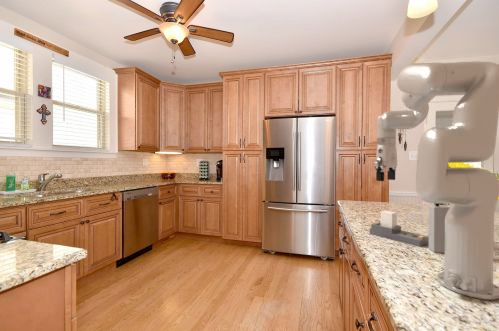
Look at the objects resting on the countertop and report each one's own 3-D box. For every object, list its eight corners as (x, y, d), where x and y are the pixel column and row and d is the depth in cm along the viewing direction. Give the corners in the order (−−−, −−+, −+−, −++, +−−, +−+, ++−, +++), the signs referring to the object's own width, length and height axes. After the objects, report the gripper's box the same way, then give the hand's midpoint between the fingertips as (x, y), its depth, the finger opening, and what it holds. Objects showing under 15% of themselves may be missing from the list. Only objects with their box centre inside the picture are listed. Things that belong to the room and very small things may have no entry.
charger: (391, 231, 104) (392, 213, 104) (380, 229, 108) (380, 211, 108) (396, 230, 106) (396, 212, 106) (385, 227, 110) (385, 210, 110)
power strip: (419, 248, 93) (419, 235, 93) (369, 235, 109) (369, 224, 109) (429, 243, 98) (429, 231, 98) (380, 231, 114) (380, 221, 114)
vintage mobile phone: (449, 253, 86) (450, 184, 85) (434, 252, 87) (434, 184, 86) (443, 249, 89) (444, 183, 89) (428, 249, 90) (428, 183, 90)
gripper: (384, 141, 99) (384, 182, 100) (404, 142, 109) (403, 179, 109) (367, 142, 105) (367, 180, 106) (387, 143, 115) (387, 178, 115)
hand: (385, 180), depth 108 cm, fingers open, 9 cm apart
